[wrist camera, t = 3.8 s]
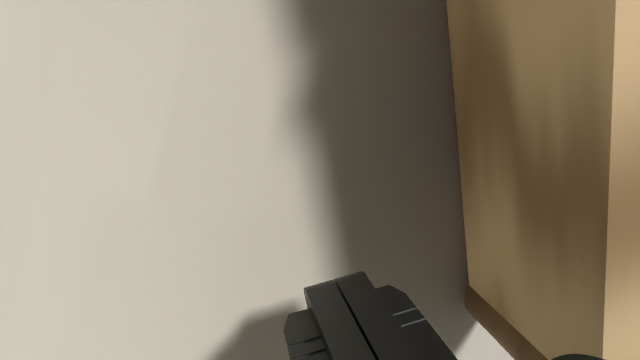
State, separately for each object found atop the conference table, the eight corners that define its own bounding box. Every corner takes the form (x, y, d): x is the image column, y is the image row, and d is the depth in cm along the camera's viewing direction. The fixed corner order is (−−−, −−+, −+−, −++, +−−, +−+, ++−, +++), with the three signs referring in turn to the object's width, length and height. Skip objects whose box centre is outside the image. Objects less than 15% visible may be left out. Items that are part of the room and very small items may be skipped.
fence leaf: (425, -156, 10) (627, -328, 5) (491, -165, 10) (739, -336, 6) (466, 322, 14) (598, 467, 10) (511, 308, 15) (662, 441, 10)
